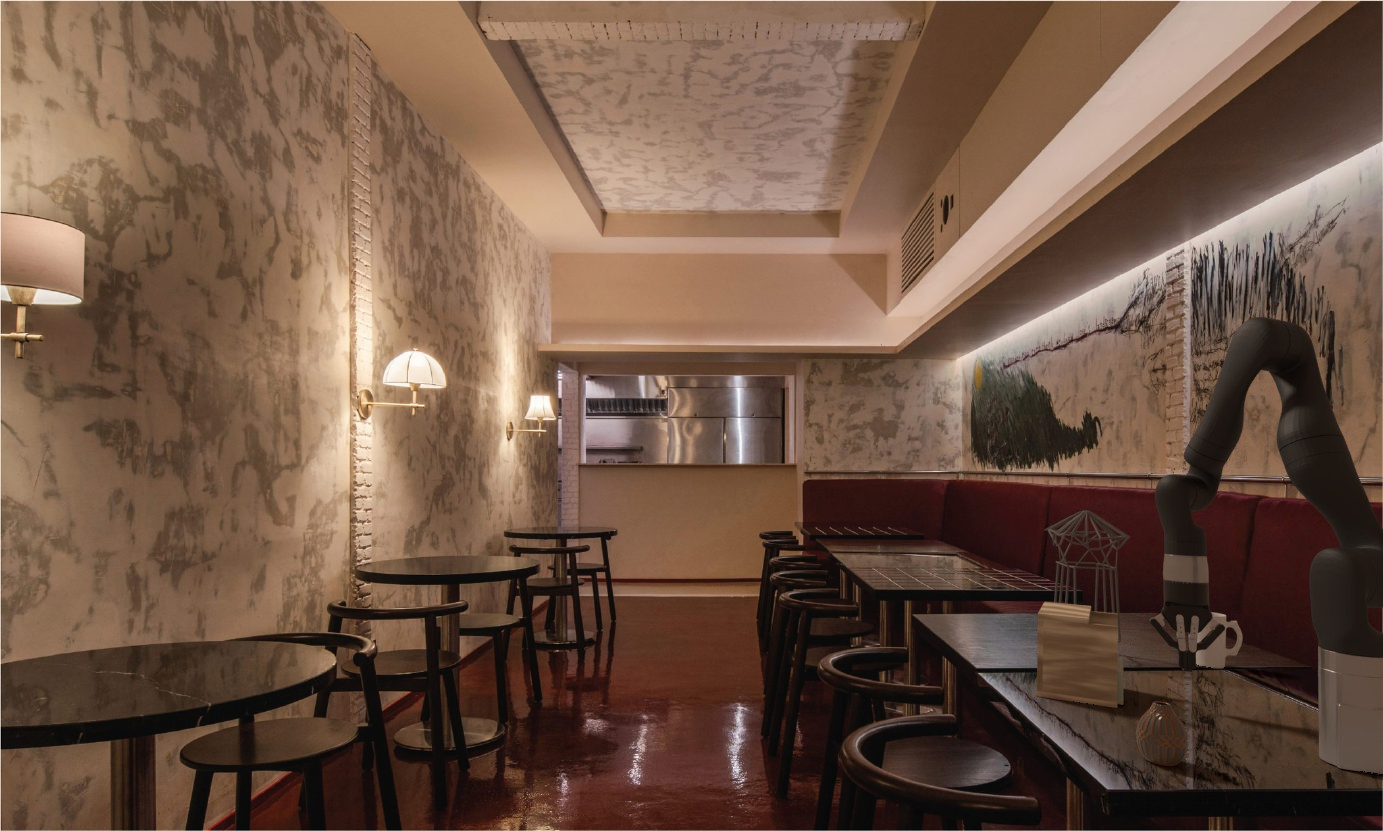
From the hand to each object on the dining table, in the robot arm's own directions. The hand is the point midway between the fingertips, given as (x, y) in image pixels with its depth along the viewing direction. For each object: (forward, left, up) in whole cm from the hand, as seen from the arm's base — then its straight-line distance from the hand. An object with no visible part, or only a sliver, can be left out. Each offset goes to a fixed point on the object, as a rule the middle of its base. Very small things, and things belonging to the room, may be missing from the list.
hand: (1187, 671), depth 160 cm
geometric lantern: (+40, +19, -7) cm, 45 cm away
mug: (+47, -9, -7) cm, 48 cm away
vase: (-38, +6, -7) cm, 39 cm away
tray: (+1, +18, -7) cm, 19 cm away
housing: (+1, +19, -7) cm, 20 cm away
